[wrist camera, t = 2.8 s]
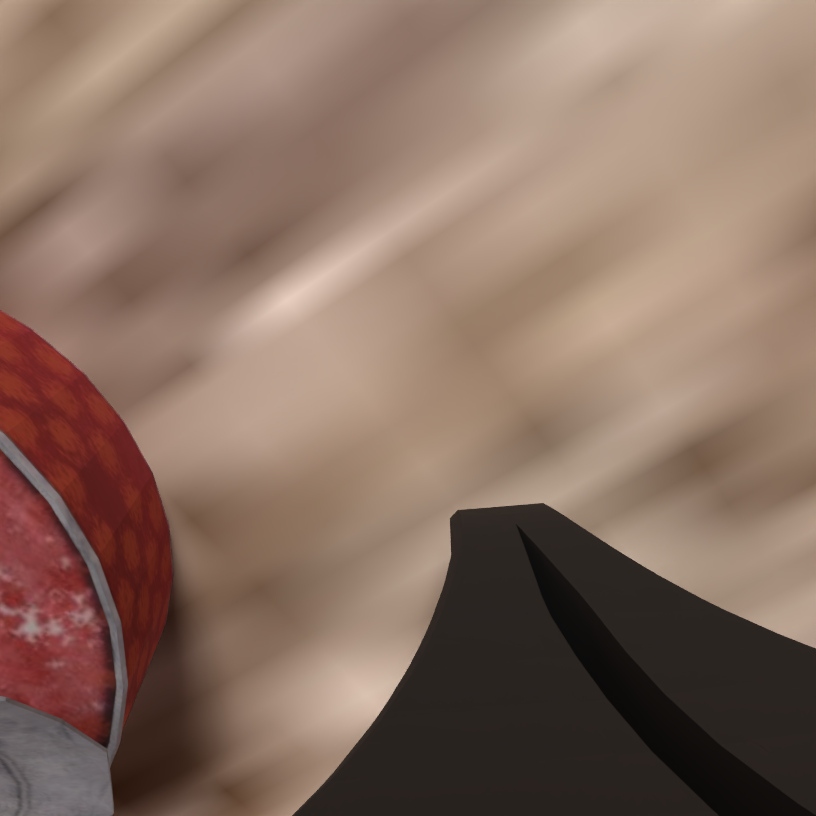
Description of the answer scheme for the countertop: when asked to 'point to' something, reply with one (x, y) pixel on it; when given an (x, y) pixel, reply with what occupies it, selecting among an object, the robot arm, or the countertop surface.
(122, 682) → the canned food
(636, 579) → the robot arm
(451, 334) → the countertop surface
